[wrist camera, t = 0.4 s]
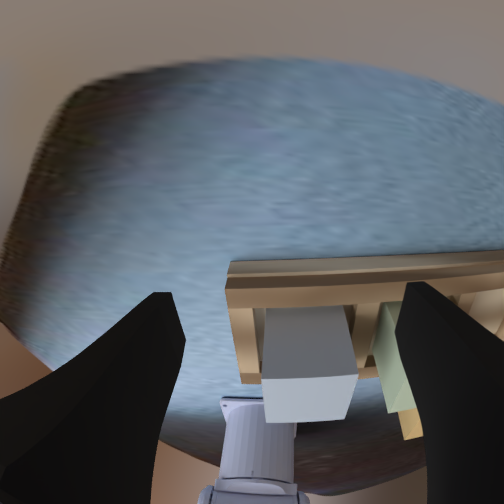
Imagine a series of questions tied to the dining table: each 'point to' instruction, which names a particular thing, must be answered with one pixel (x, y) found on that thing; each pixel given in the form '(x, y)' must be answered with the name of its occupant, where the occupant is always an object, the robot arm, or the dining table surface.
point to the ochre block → (410, 423)
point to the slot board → (357, 295)
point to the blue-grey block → (307, 364)
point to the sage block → (391, 361)
